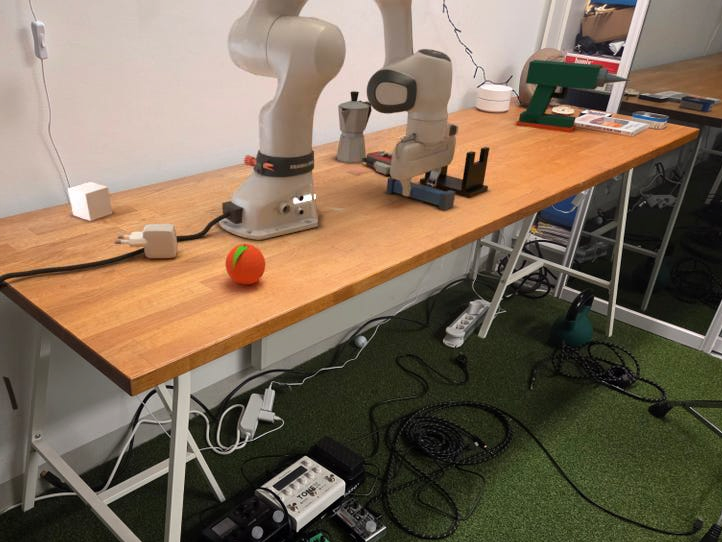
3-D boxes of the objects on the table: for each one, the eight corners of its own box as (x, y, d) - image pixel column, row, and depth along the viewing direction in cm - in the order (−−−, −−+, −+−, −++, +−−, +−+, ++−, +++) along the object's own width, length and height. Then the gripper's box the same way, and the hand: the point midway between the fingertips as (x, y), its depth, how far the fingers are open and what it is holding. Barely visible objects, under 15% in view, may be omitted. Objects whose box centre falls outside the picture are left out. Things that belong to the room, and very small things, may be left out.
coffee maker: (351, 166, 168) (355, 96, 158) (325, 161, 172) (327, 92, 162) (379, 155, 178) (384, 89, 168) (354, 150, 182) (358, 85, 172)
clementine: (253, 296, 103) (251, 258, 99) (216, 289, 105) (213, 251, 101) (272, 277, 109) (271, 240, 105) (237, 271, 111) (235, 234, 107)
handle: (444, 210, 139) (446, 195, 137) (386, 192, 150) (387, 178, 148) (453, 206, 141) (455, 191, 139) (395, 189, 152) (396, 175, 150)
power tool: (617, 133, 203) (635, 67, 192) (613, 137, 198) (632, 70, 187) (521, 121, 217) (533, 59, 206) (516, 125, 212) (528, 61, 201)
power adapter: (116, 261, 114) (111, 231, 111) (121, 251, 119) (116, 222, 115) (176, 260, 115) (172, 230, 112) (179, 250, 119) (175, 221, 116)
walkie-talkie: (355, 165, 169) (406, 183, 155) (356, 149, 166) (408, 166, 153) (379, 160, 173) (430, 178, 160) (380, 144, 171) (432, 161, 157)
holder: (469, 197, 147) (476, 154, 141) (419, 183, 156) (423, 142, 150) (487, 190, 151) (494, 148, 146) (437, 177, 160) (443, 137, 155)
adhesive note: (73, 215, 135) (67, 188, 131) (95, 207, 139) (90, 181, 136) (90, 221, 132) (85, 193, 129) (112, 213, 136) (108, 186, 133)
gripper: (409, 141, 129) (403, 204, 137) (463, 125, 141) (454, 184, 149) (385, 135, 133) (381, 197, 141) (440, 121, 145) (433, 178, 153)
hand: (419, 190), depth 145 cm, fingers open, 8 cm apart
